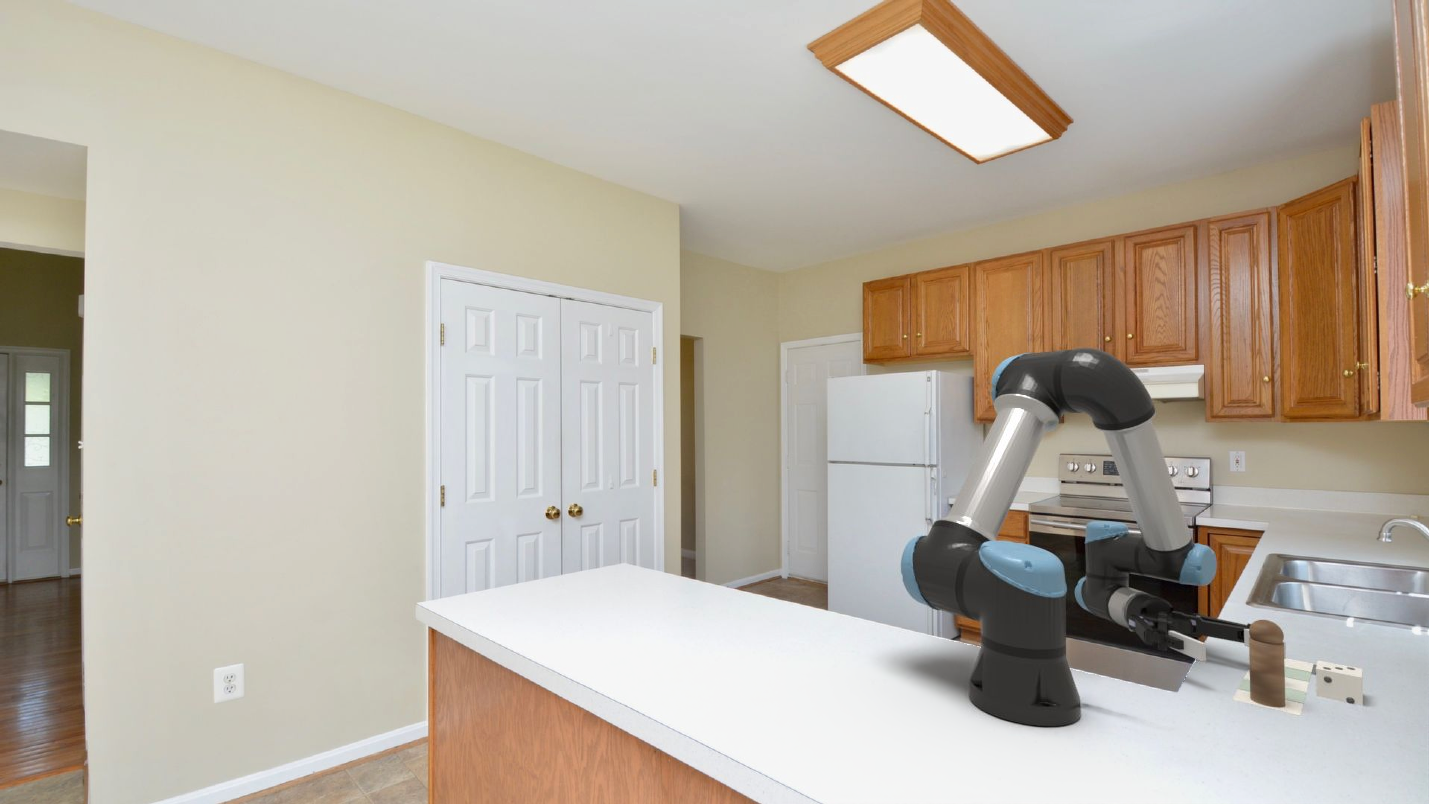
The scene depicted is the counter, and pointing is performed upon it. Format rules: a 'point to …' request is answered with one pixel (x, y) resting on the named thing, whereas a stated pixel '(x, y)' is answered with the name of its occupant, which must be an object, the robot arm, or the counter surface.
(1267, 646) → the pawn
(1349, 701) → the die
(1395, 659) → the counter surface
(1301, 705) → the board
